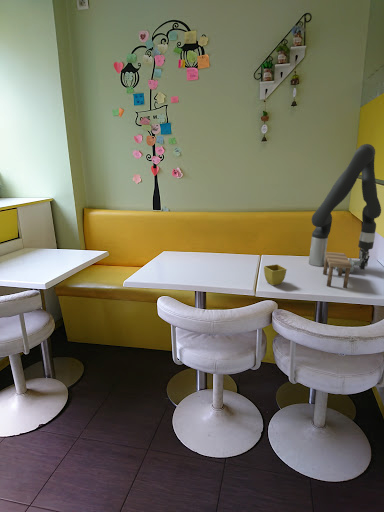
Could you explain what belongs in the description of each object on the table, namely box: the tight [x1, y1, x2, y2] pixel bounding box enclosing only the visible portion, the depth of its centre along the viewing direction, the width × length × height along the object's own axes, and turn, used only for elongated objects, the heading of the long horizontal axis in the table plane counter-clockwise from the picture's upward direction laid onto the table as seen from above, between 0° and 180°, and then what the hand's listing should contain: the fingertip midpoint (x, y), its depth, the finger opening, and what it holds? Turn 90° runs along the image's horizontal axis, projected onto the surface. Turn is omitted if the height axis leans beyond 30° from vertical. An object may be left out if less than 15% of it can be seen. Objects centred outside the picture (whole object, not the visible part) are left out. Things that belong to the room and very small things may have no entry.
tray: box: [334, 257, 369, 273], centre depth 200 cm, size 10×17×6 cm, turn 77°
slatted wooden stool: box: [322, 251, 351, 289], centre depth 185 cm, size 20×10×13 cm, turn 166°
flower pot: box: [263, 264, 288, 286], centre depth 181 cm, size 9×9×9 cm
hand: (361, 268), depth 199 cm, fingers closed on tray, 2 cm apart
